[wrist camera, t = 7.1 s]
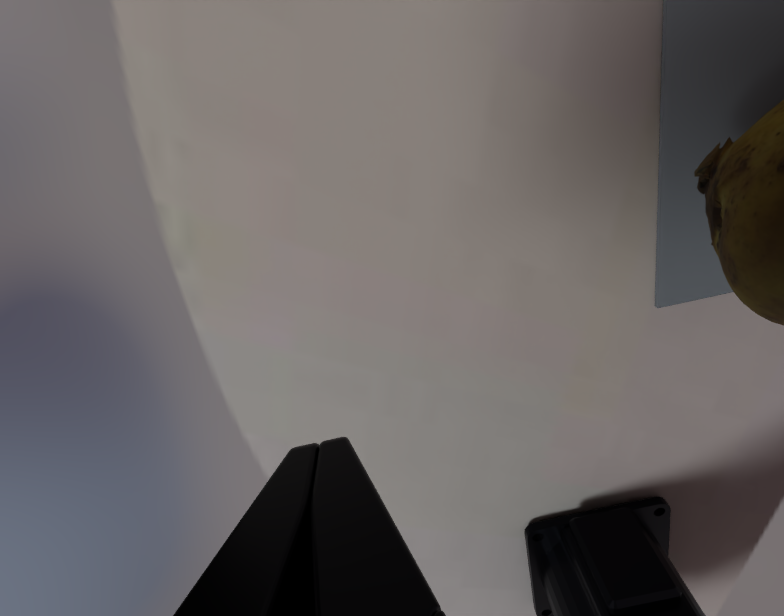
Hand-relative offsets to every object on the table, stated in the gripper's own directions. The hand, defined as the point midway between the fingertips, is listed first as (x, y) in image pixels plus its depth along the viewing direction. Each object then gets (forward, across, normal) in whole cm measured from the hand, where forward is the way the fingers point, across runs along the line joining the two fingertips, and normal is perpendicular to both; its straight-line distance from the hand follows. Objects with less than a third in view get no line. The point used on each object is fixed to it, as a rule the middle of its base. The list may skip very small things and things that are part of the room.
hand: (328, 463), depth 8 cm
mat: (+10, -13, 0) cm, 17 cm away
